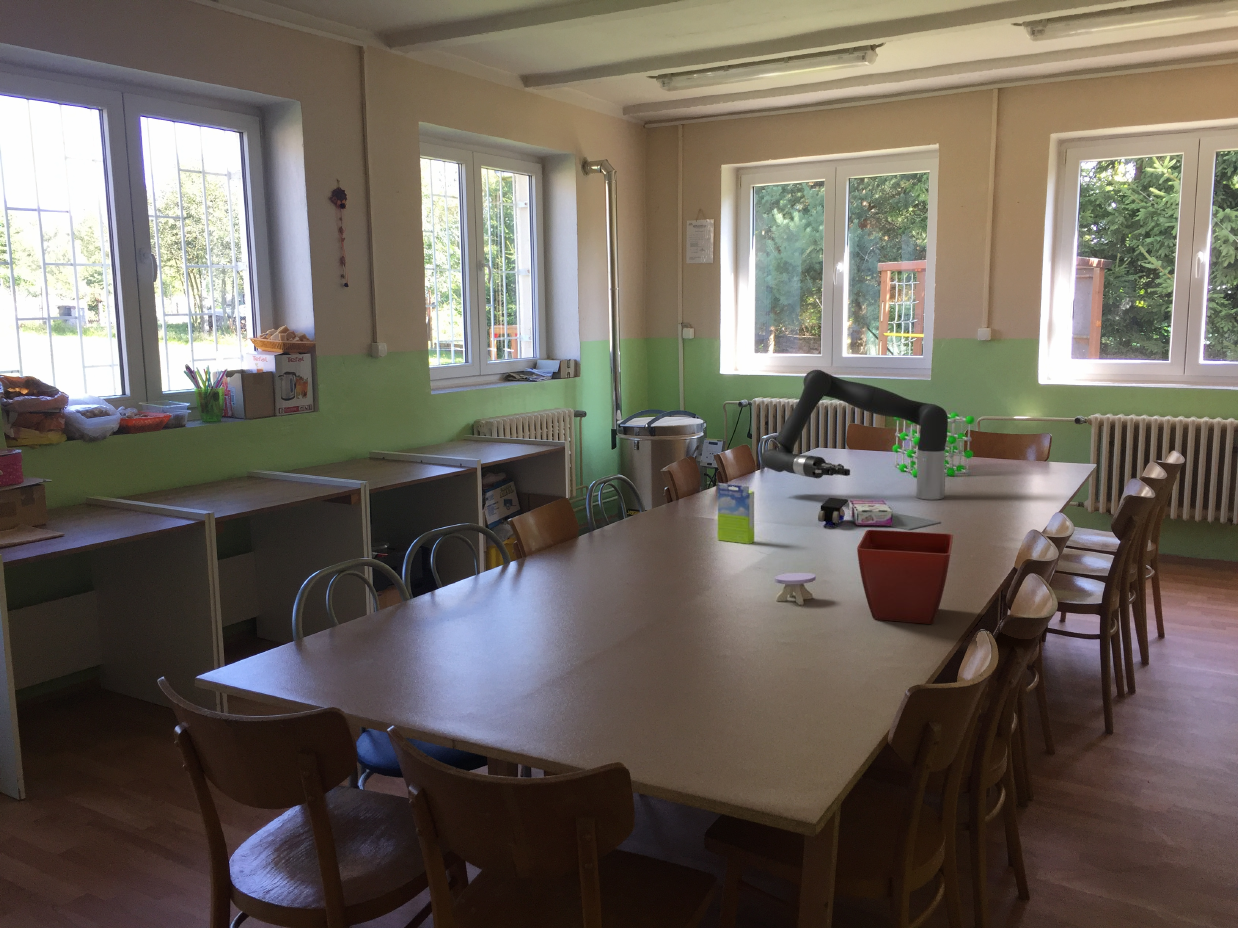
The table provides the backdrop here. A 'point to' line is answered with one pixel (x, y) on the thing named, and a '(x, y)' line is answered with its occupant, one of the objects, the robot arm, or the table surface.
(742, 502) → the box
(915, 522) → the mat
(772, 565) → the table surface
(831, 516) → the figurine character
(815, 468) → the robot arm
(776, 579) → the toy table
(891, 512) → the candy bar box
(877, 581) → the plant pot
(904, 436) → the molecular structure model
